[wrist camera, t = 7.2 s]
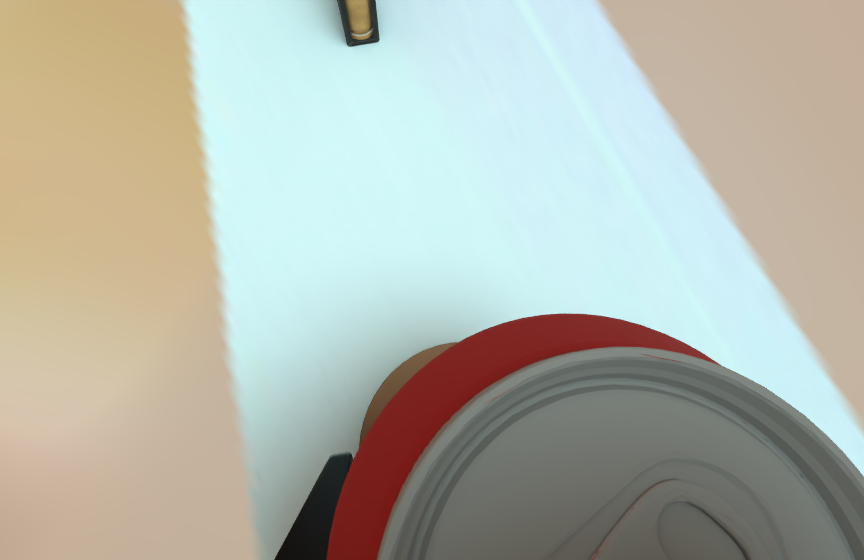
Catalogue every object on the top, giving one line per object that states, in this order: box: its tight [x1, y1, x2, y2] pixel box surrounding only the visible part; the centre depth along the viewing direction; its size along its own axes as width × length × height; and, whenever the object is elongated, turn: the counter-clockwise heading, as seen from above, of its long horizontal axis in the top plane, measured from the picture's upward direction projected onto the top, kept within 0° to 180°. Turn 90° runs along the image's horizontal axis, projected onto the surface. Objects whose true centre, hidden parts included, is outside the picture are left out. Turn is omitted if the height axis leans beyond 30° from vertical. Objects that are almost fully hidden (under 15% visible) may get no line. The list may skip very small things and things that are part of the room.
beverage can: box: [326, 314, 864, 560], centre depth 10 cm, size 7×7×12 cm
